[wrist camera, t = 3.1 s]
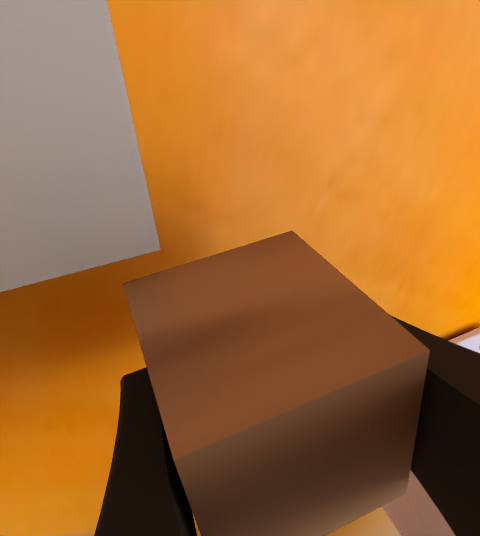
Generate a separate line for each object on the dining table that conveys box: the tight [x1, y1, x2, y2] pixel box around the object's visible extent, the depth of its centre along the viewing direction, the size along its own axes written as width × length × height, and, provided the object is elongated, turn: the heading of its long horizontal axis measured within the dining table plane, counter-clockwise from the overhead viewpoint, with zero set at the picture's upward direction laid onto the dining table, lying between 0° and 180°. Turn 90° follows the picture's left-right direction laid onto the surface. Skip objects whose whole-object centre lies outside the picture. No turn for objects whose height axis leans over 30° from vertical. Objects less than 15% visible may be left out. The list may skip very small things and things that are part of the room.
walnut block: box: [123, 231, 430, 536], centre depth 10 cm, size 4×4×5 cm
